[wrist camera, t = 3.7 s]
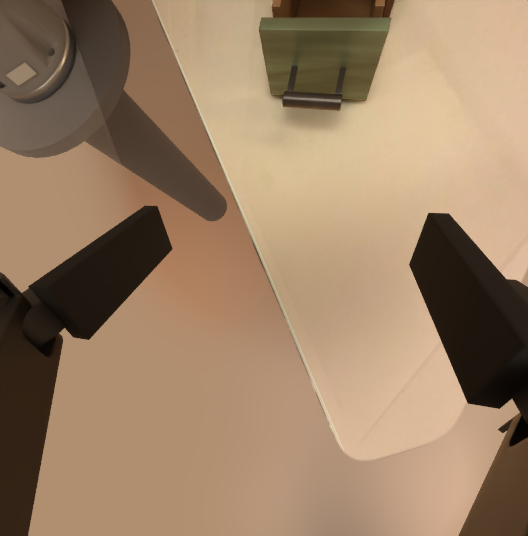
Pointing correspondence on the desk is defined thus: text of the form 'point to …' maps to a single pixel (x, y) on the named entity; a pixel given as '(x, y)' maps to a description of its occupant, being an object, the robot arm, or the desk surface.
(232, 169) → the desk surface
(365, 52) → the drawer
